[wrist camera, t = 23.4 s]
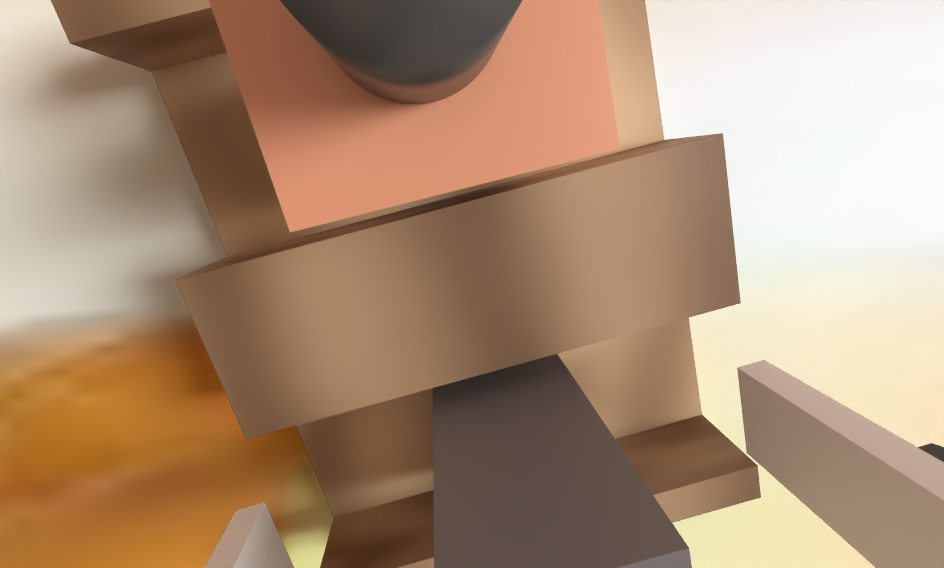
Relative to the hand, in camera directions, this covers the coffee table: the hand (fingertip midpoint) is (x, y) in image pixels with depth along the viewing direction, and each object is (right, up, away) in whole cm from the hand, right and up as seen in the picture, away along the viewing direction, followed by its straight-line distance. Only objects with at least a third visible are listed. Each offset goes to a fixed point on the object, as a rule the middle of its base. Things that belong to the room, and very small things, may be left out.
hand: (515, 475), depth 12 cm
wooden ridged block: (-1, +6, +3) cm, 7 cm away
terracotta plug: (-3, +10, +1) cm, 11 cm away
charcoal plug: (0, +1, +4) cm, 4 cm away
